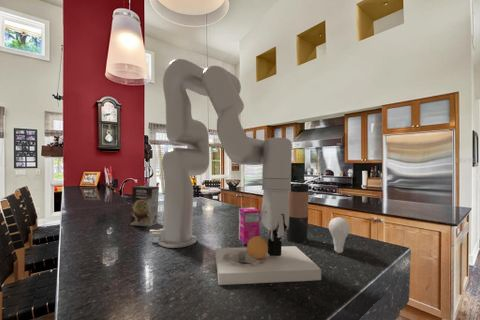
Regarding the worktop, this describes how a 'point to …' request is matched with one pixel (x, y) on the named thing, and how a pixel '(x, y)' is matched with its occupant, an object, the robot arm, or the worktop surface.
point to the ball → (257, 247)
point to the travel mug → (298, 213)
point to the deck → (264, 266)
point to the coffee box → (144, 205)
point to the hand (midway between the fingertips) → (274, 254)
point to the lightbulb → (339, 232)
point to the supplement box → (248, 224)
